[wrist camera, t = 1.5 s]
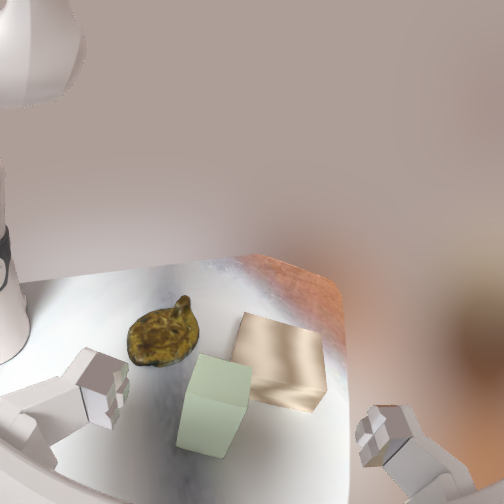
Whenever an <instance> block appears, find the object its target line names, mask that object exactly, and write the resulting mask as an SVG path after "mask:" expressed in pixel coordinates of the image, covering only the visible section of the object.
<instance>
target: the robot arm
mask: <svg viewBox="0 0 504 504" xmlns="http://www.w3.org/2000/svg"><path fill="white" fill-rule="evenodd" d="M85 54H86V40H85V36H84V33H83V30H82V28H81V26H80V25H79V23H78V22H77V20H76V19H75V17H74V15H73V13H72V11H71V8H70V5H69V1H68V0H7V3H6V5H5V6H4V7H3V8H2V9H0V108H23V107H28V106H33V105H39V104H44V103H49V102H54V101H57V100H58V99H59V98H60V97H62V96H63V95H64V94H65V93H66V92H67V91H68V90H69V89H70V87H71V86H72V85H73V84H74V82H75V81H76V79H77V77H78V76H79V74H80V72H81V69H82V67H83V64H84V60H85ZM10 246H11V242H10V237H9V230H8V227H7V226H6V225H5V168H4V164H3V162H2V160H1V158H0V364H2V363H4V362H6V361H8V360H9V359H11V358H12V357H14V356H15V355H16V354H17V353H18V352H19V351H20V350H21V349H22V347H23V346H24V344H25V343H26V341H27V338H28V336H29V331H30V324H29V320H28V317H27V314H26V306H27V300H26V296H25V294H24V293H21V290H20V286H19V282H18V278H17V273H16V269H15V264H14V260H13V258H12V257H11V251H10ZM128 371H129V369H128V363H126V362H124V361H121V360H118V359H116V358H113V357H110V356H108V355H105V354H102V353H100V352H97V351H94V350H92V349H89V348H87V347H86V348H84V349H82V350H81V351H80V353H79V354H78V355H77V357H76V358H75V359H74V361H73V362H72V363H71V365H70V366H69V367H68V369H67V370H66V371H65V373H64V374H63V376H62V377H61V378H60V377H58V376H57V377H54V378H51V379H48V380H46V381H43V382H40V383H38V384H35V385H32V386H29V387H26V388H24V389H21V390H18V391H15V392H12V393H9V394H6V395H3V396H0V504H132V503H129V502H126V501H123V500H120V499H117V498H114V497H112V496H109V495H106V494H104V493H101V492H99V491H96V490H94V489H92V488H89V487H87V486H85V485H82V484H80V483H78V482H76V481H74V480H71V479H69V478H67V477H65V476H63V475H61V474H59V473H57V472H55V471H54V470H55V468H56V465H57V463H58V462H57V459H56V457H55V455H54V454H53V452H52V450H51V449H50V446H51V445H53V444H55V443H56V442H58V441H60V440H62V439H63V438H65V437H67V436H68V435H70V434H72V433H73V432H75V431H77V430H78V429H80V428H82V427H83V426H85V425H86V424H88V423H89V422H91V423H93V424H96V425H99V426H101V427H104V428H107V429H110V430H113V428H114V426H115V424H116V422H117V419H118V417H119V410H118V409H119V408H121V407H123V406H124V404H125V402H126V400H127V396H128V392H129V380H128V378H127V377H126V375H127V373H128ZM367 414H368V416H367V417H365V418H363V419H362V420H361V421H360V422H359V424H358V425H357V429H356V433H355V438H356V442H357V444H358V445H359V446H360V447H361V448H362V449H361V451H360V452H359V454H360V459H361V462H362V466H363V467H380V466H383V467H382V468H383V469H384V470H385V471H386V472H387V474H388V475H389V476H390V477H391V478H392V479H393V480H394V482H395V483H396V484H397V485H398V486H399V487H400V488H401V490H402V491H403V492H404V493H405V494H406V495H407V496H408V497H409V498H410V499H409V500H408V501H406V502H405V503H403V504H504V478H503V479H501V480H499V481H498V482H495V483H494V484H491V485H489V486H487V487H485V488H482V489H480V490H478V491H477V490H476V487H475V485H474V483H473V480H472V478H471V476H470V473H469V471H468V469H467V467H466V466H465V465H464V464H462V463H461V462H460V461H458V460H457V459H456V458H455V457H453V456H452V455H451V454H449V453H448V452H447V451H445V450H444V449H443V448H442V447H441V446H439V445H438V444H437V443H435V442H434V441H433V440H431V439H430V438H429V437H427V436H424V434H423V432H422V429H421V427H420V425H419V423H418V421H417V418H416V416H415V415H414V412H413V410H412V408H411V407H410V406H409V405H373V406H372V407H370V408H369V410H368V411H367Z"/></svg>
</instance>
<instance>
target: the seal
mask: <svg viewBox="0 0 504 504" xmlns="http://www.w3.org/2000/svg"><path fill="white" fill-rule="evenodd" d="M198 338H199V327H198V323H197V321H196V318H195V317H194V315H193V313H192V311H191V308H190V298H189V297H188V296H186V295H183V296H181V298H180V299H179V300H178V301H177V302H176V304H175V306H174V308H168V309H160V310H156V311H153V312H150V313H148V314H146V315H144V316H143V317H141V318H139V319H138V320H137V321H136V322H135V323H134V324H133V325H132V326H131V327H130V329H129V332H128V335H127V351H128V354H129V358H130V359H131V361H132V362H133V363H134V364H135V365H137V366H143V365H144V366H150V365H153V366H155V367H164V366H169V365H172V364H175V363H178V362H180V361H182V360H183V359H184V358H185V357H186V356H187V355H189V354H190V353H191V351H192V350H193V349H194V347H195V346H196V344H197V341H198Z"/></svg>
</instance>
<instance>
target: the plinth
mask: <svg viewBox="0 0 504 504" xmlns="http://www.w3.org/2000/svg"><path fill="white" fill-rule="evenodd" d="M230 362H234V363H238V364H241V365H245V366H249V367H253V370H252V378H251V386H250V393H249V399H251V400H255V401H259V402H263V403H267V404H271V405H276V406H280V407H285V408H289V409H294V410H299V411H304V412H310V413H312V412H313V411H314V409H315V408H316V406H317V405H318V404H319V402H320V401H321V399H322V398H323V396H324V395H325V393H326V392H327V384H326V374H325V364H324V355H323V346H322V338H321V333H317V332H313V331H310V330H306V329H302V328H298V327H295V326H291V325H288V324H284V323H280V322H277V321H273V320H270V319H266V318H263V317H259V316H256V315H253V314H249V313H246V312H244V315H243V318H242V321H241V324H240V327H239V331H238V334H237V337H236V341H235V344H234V348H233V351H232V355H231V358H230Z"/></svg>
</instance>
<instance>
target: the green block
mask: <svg viewBox="0 0 504 504" xmlns="http://www.w3.org/2000/svg"><path fill="white" fill-rule="evenodd" d="M252 370H253V367H249V366H245V365H241V364H238V363H234V362H230V361H226V360H223V359H219V358H216V357H212V356H209V355H205V354H202V353H199V356H198V359H197V362H196V365H195V367H194V370H193V373H192V376H191V379H190V382H189V384H188V387H187V390H186V394H185V399H184V404H183V409H182V414H181V419H180V425H179V430H178V435H177V441H176V447H179V448H182V449H186V450H189V451H193V452H196V453H200V454H204V455H208V456H212V457H216V458H220V459H223V458H224V456H225V454H226V452H227V450H228V448H229V446H230V444H231V442H232V440H233V438H234V436H235V434H236V432H237V430H238V427H239V425H240V423H241V421H242V419H243V417H244V415H245V413H246V411H247V409H248V401H249V393H250V386H251V378H252Z"/></svg>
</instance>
